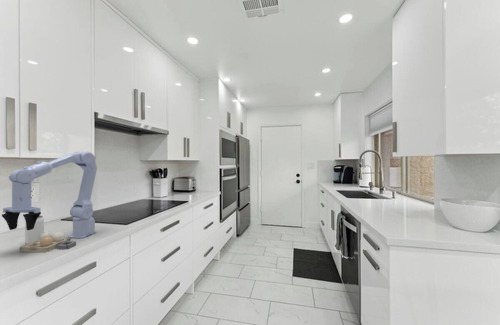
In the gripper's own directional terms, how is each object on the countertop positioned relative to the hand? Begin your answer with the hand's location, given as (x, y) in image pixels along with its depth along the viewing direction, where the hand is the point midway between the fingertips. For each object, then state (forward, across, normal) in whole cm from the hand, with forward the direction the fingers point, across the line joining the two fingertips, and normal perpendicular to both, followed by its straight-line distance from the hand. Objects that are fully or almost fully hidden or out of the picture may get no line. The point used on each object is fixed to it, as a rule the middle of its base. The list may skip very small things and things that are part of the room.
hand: (21, 229), depth 93 cm
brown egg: (+6, +7, +4) cm, 10 cm away
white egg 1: (+6, +1, +10) cm, 12 cm away
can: (+10, -7, +12) cm, 17 cm away
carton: (+10, +4, +7) cm, 13 cm away
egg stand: (+10, +14, +7) cm, 18 cm away
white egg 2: (+6, +7, +10) cm, 14 cm away
